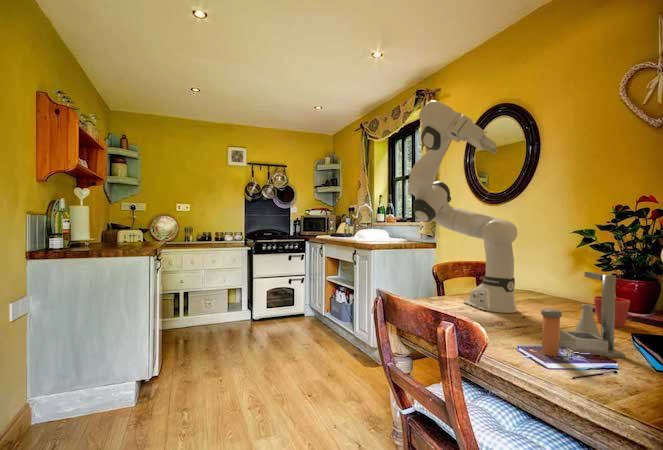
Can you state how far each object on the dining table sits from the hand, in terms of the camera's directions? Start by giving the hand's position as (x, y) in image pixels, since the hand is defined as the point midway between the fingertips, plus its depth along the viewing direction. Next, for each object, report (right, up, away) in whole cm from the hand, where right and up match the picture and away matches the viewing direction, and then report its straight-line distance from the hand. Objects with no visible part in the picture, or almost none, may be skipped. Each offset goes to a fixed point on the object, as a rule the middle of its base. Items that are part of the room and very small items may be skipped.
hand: (495, 148), depth 115 cm
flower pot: (+50, -64, +14) cm, 82 cm away
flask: (+30, -63, -1) cm, 70 cm away
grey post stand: (+20, -63, -13) cm, 67 cm away
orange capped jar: (+5, -62, -21) cm, 66 cm away
